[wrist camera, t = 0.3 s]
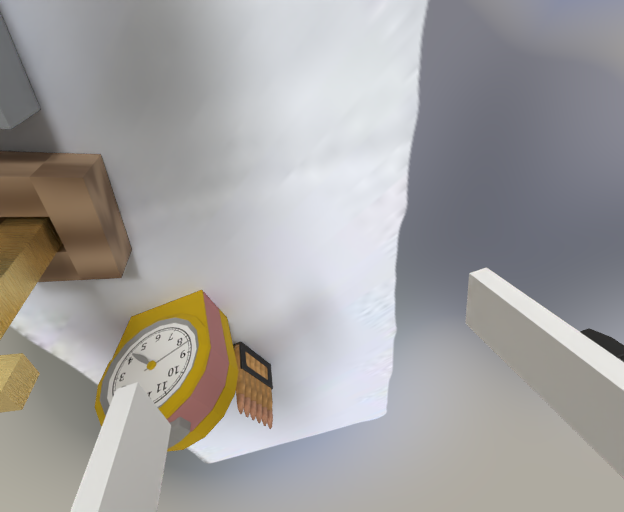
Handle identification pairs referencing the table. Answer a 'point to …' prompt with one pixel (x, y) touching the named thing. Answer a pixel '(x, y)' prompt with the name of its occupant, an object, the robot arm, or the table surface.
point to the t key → (21, 295)
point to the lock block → (68, 210)
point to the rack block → (13, 85)
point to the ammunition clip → (253, 385)
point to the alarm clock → (177, 366)
